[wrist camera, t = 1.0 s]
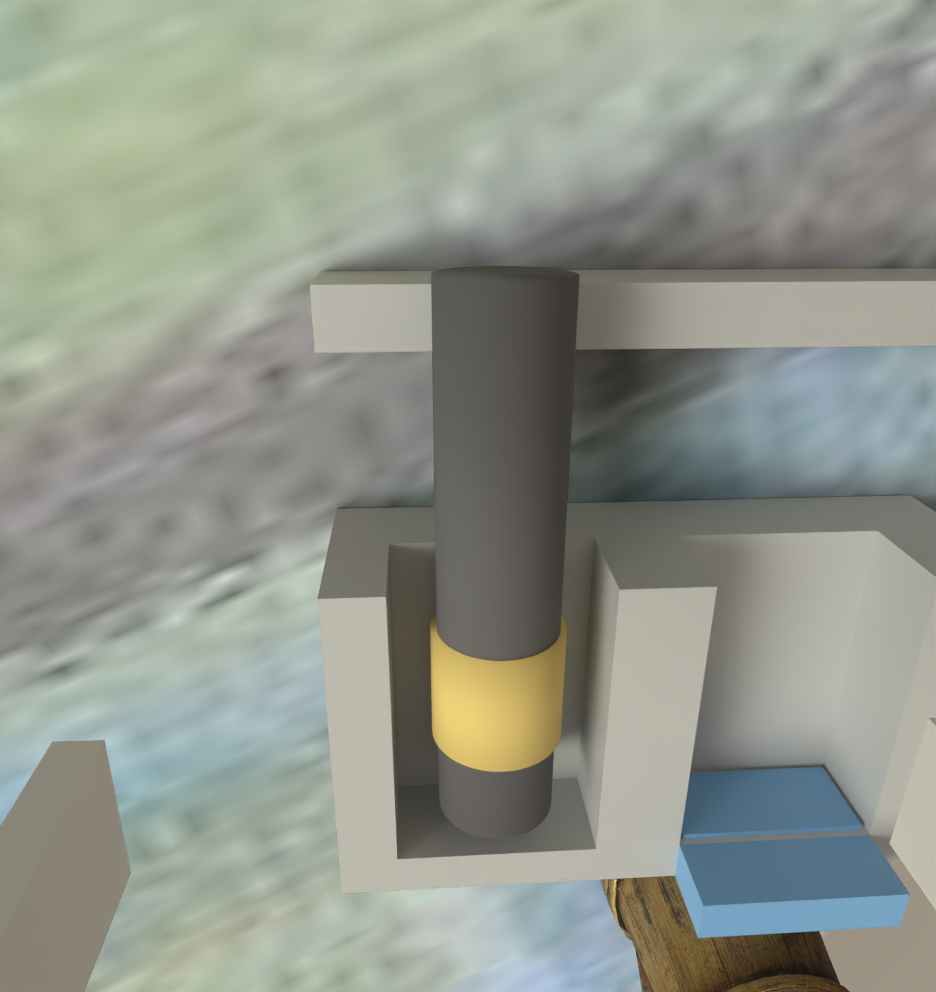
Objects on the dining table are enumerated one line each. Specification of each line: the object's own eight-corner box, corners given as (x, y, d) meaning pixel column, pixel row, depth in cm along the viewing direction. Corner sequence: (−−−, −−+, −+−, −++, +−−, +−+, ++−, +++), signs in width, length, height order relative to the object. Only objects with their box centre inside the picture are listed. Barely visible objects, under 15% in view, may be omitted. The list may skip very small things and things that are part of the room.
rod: (422, 265, 23) (425, 284, 19) (570, 265, 24) (603, 283, 19) (431, 756, 30) (435, 847, 26) (546, 751, 30) (567, 840, 26)
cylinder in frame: (320, 271, 26) (278, 324, 18) (966, 267, 27) (1208, 315, 19) (354, 764, 34) (335, 959, 26) (850, 742, 35) (984, 921, 27)
